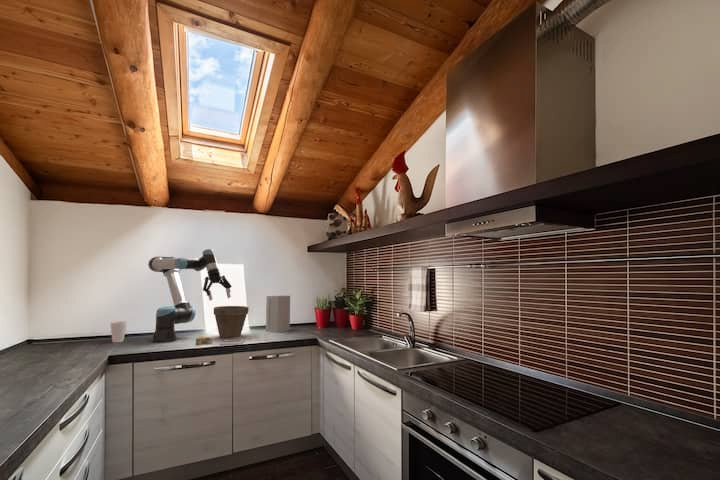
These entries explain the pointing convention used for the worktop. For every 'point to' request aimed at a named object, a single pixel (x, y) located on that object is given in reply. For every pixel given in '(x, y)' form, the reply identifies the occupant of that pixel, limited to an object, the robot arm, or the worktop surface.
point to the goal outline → (232, 343)
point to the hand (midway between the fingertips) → (220, 298)
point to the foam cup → (118, 331)
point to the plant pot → (230, 320)
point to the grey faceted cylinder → (277, 313)
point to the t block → (204, 340)
